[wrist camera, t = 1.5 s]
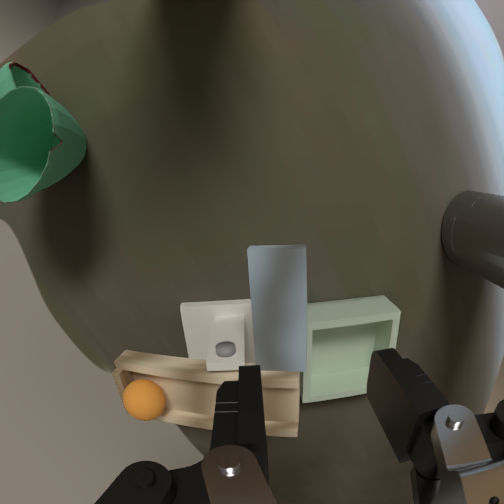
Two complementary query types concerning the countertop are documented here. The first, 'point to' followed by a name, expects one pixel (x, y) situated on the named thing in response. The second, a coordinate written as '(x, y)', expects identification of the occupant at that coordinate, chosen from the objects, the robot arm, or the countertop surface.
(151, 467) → the robot arm
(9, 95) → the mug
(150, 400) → the ball
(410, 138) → the countertop surface
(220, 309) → the stand
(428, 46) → the countertop surface
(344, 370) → the pale green tray
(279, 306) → the lever
